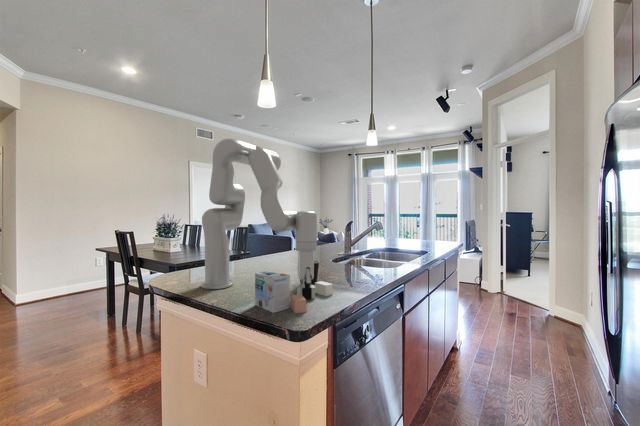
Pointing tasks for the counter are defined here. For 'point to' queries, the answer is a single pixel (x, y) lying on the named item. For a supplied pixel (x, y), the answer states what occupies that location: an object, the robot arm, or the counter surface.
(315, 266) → the coffee mug
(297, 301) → the brick terracotta
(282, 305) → the light bulb box
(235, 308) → the counter surface
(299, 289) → the brick sage
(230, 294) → the counter surface
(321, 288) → the brick cream
